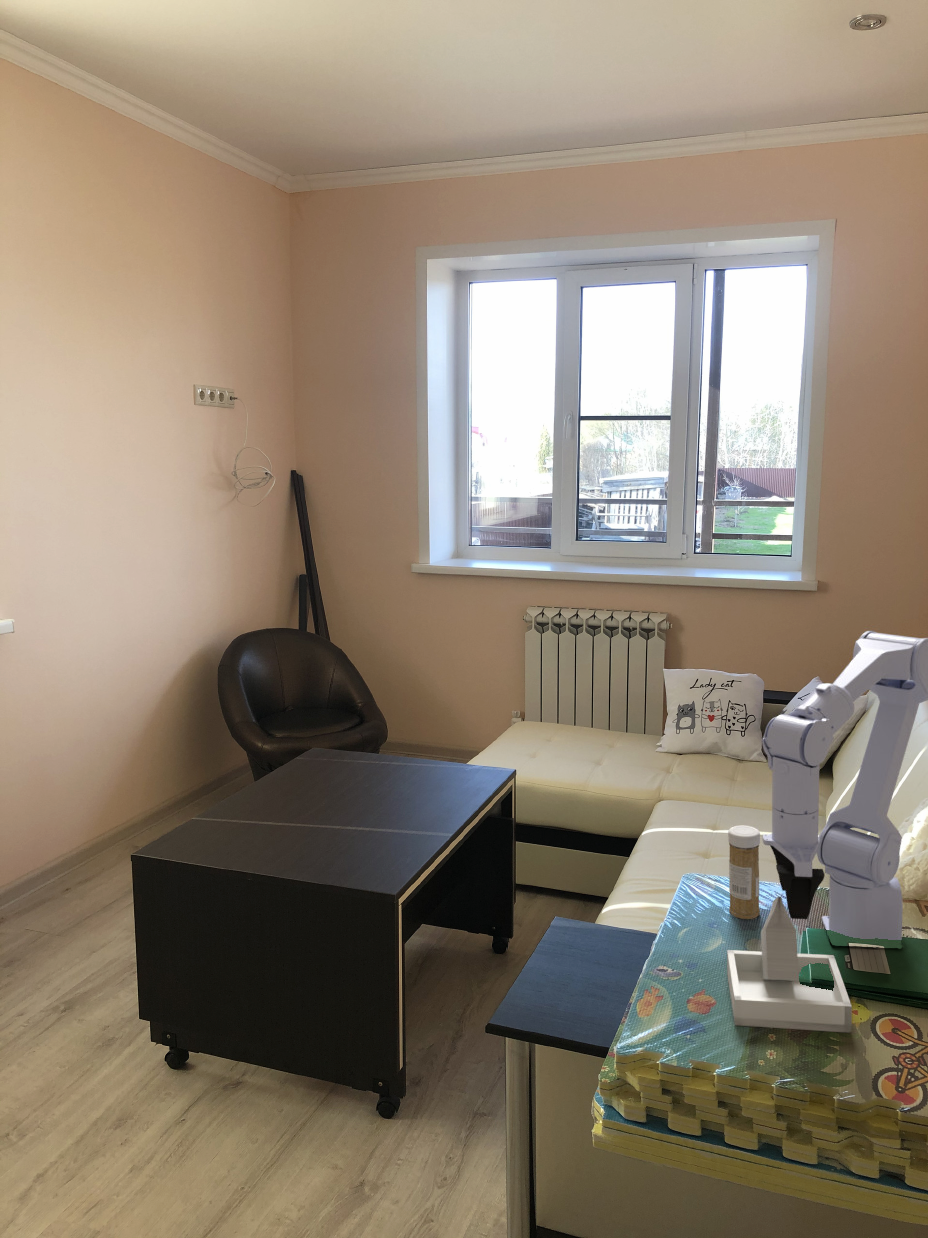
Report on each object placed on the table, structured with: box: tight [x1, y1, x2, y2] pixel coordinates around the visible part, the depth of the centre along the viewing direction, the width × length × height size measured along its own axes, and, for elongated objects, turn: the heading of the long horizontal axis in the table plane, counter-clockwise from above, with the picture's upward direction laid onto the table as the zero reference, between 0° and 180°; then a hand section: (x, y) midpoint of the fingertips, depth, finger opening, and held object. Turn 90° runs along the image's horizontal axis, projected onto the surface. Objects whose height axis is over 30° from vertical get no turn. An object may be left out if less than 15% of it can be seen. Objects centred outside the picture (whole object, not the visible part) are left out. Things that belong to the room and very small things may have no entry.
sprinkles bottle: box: [727, 824, 761, 920], centre depth 143 cm, size 5×5×14 cm
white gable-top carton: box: [760, 896, 799, 981], centre depth 123 cm, size 4×7×10 cm, turn 168°
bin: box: [726, 949, 853, 1034], centre depth 121 cm, size 14×12×4 cm
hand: (794, 903), depth 125 cm, fingers open, 7 cm apart
